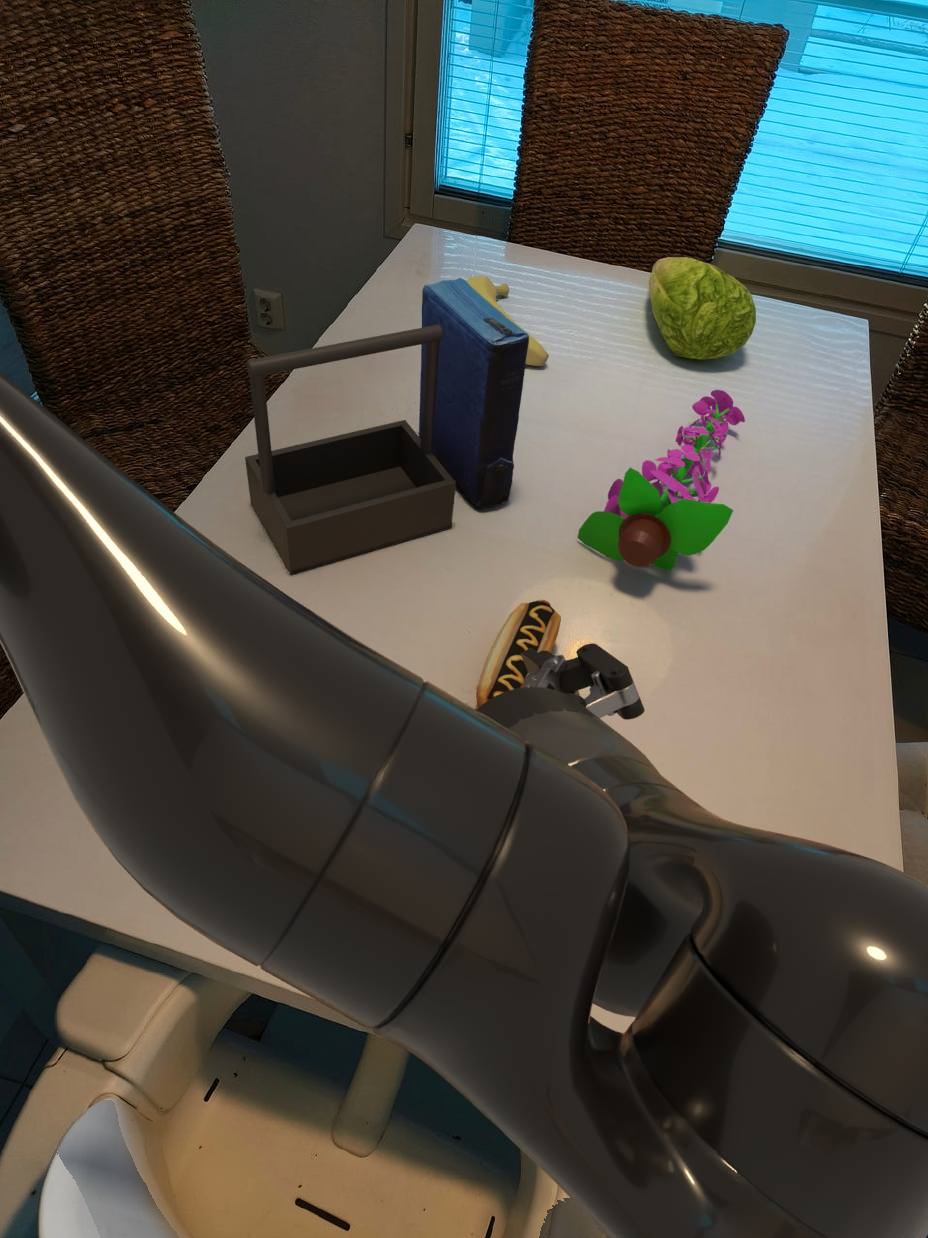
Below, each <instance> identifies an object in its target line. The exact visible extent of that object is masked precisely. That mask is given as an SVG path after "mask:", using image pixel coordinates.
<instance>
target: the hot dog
mask: <svg viewBox="0 0 928 1238" xmlns="http://www.w3.org/2000/svg"><path fill="white" fill-rule="evenodd" d="M561 622H562V616H561V614H559V613H558V612H557V611H556V610H555V609H554V608H553V607H552V606H551V603H550V602H549V601H547V600H546V599H537V600H534V601H531V602H522V603H519V604H518V605H517V606H516V608H514V610H512V612H511V613H509V615H508V617H507V619H506V620H505V621H504V623H503V625H502V627H501V629H500V630H499V631H498V633H497V634H496V637H495V639H494V642H493V644H492V646H491V648H490V650H489V652H488V654H487V656H486V658H485V661H484V664H483V667H482V670H481V673H480V677H479V678H478V679H479V680H478V683H477V686H476V690H475V691H476V692H475V696H476V697H475V698H476V706H477V708H479V707H480V706H481V705H482V704H484V703H485V702H486V701H488V700H489V699H491V698H493V697H495V696H497V695H499V694H501V693H503V692H506V691H509V690H513V689H517V688H520V687H521V685H522V684H523V682H524V681H525V679H526V677H527V676H528V674H529V673H528V670H527V668H526V666H525V663H524V661H523V659H522V656H521V653H522V652H524V651H526V650H528V649H530V648H532V649H534V650H535V651H537V652H540V651H542V650H543V651H549V652H550V653H552V654H553V650H554V647H555V644H556V641H557V638H558V635H559V631H560V625H561Z"/></svg>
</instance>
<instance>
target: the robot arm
mask: <svg viewBox="0 0 928 1238" xmlns="http://www.w3.org/2000/svg"><path fill="white" fill-rule="evenodd" d="M0 645H1V647H2V649H3V651H4V653H5V655H6V657H7V659H8V661H9V664H10V666H11V668H12V670H13V672H14V674H15V676H16V679H17V680H18V681H17V682H18V683H19V685H20V687H21V690H22V692H23V694H24V697H25V699H26V701H27V703H28V706H29V708H30V710H31V713H32V715H33V717H34V719H35V721H36V724H37V725H38V728H39V731H40V733H41V735H42V737H43V739H44V741H45V743H46V745H47V747H48V749H49V752H50V753H51V755H52V757H53V759H54V761H55V763H56V765H57V766H58V769H59V771H60V773H61V774H62V776H63V779H64V781H65V783H66V784H67V786H68V789H69V790H70V792H71V794H72V796H73V798H74V801H75V802H76V804H77V805H78V807H79V808H80V810H81V812H82V813H83V815H84V816H85V819H86V820H87V821H88V823H89V825H90V826H91V828H92V829H93V831H94V832H95V834H96V835H97V836H98V837H99V839H100V840H101V842H102V843H103V844H104V846H105V847H106V848H107V850H108V851H109V853H110V854H111V855H112V856H113V857H114V859H115V860H116V862H117V863H118V864H119V865H120V866H121V867H122V868H123V869H124V870H125V871H126V873H128V874H129V876H131V878H132V879H133V880H134V881H135V882H136V883H137V884H138V886H140V888H141V889H142V890H144V891H145V892H146V894H148V895H149V896H150V897H152V898H153V899H154V900H155V901H156V902H157V903H158V904H159V905H161V906H162V907H163V908H164V909H166V910H167V911H168V912H169V913H170V914H172V916H174V917H175V918H176V919H178V920H179V921H181V922H182V923H183V924H185V925H186V926H188V927H189V928H191V929H193V930H194V931H196V932H197V933H199V934H200V935H201V936H203V937H205V938H206V939H208V940H209V941H211V942H212V943H214V944H215V945H217V946H219V947H221V948H223V949H224V950H226V951H228V952H230V953H231V954H233V955H235V956H237V957H239V958H240V959H243V960H244V961H245V962H248V963H250V964H251V965H253V966H255V967H258V966H260V967H259V968H260V969H261V971H264V972H266V973H267V974H269V975H271V976H273V977H274V978H276V979H278V980H280V981H282V982H284V983H285V984H287V985H288V986H290V987H292V988H294V989H296V990H298V991H299V992H301V993H303V994H305V995H306V996H308V997H309V998H312V999H314V1000H315V1001H317V1002H319V1003H321V1004H322V1005H324V1006H326V1007H328V1008H330V1009H332V1010H333V1011H335V1012H336V1013H338V1014H340V1015H342V1016H344V1017H345V1018H347V1019H350V1020H351V1021H353V1022H355V1023H356V1024H358V1025H360V1026H362V1027H363V1028H366V1029H371V1030H372V1032H373V1033H375V1034H376V1035H377V1036H379V1037H382V1038H383V1039H385V1040H386V1041H389V1042H390V1043H392V1044H394V1045H396V1046H398V1047H400V1048H401V1049H403V1050H405V1051H407V1052H409V1053H410V1054H412V1055H413V1056H415V1057H416V1058H418V1060H421V1061H422V1062H423V1063H424V1064H425V1065H427V1066H428V1067H429V1068H431V1069H432V1070H434V1072H436V1073H437V1074H438V1075H439V1076H440V1077H442V1078H443V1079H444V1080H445V1081H446V1082H447V1083H449V1084H450V1085H451V1086H452V1087H453V1088H454V1089H455V1090H456V1091H458V1092H459V1093H460V1094H461V1095H462V1096H463V1097H464V1098H465V1099H466V1100H467V1101H468V1102H469V1103H470V1104H472V1105H473V1106H474V1107H475V1108H476V1109H477V1110H479V1112H480V1113H481V1114H482V1115H484V1116H485V1118H487V1119H488V1120H489V1121H490V1122H492V1123H493V1124H494V1125H495V1126H496V1127H497V1128H498V1129H499V1130H500V1131H501V1132H503V1134H504V1135H505V1136H506V1137H507V1138H508V1139H509V1140H511V1141H512V1143H514V1144H515V1145H516V1146H517V1147H518V1148H519V1149H520V1150H521V1151H522V1152H523V1154H525V1155H527V1157H528V1158H529V1159H531V1160H532V1162H534V1163H535V1164H536V1165H537V1166H538V1168H540V1169H541V1170H542V1171H543V1172H544V1173H545V1174H546V1175H547V1176H548V1177H549V1178H550V1179H551V1180H552V1181H553V1182H554V1183H555V1184H556V1185H557V1187H559V1188H560V1189H561V1190H562V1191H563V1192H564V1193H565V1194H566V1195H567V1196H568V1197H569V1198H570V1199H571V1200H572V1201H573V1202H574V1203H575V1204H576V1206H578V1207H579V1208H580V1210H581V1211H582V1212H583V1213H584V1214H585V1215H586V1216H587V1217H588V1218H589V1219H590V1220H591V1221H592V1223H593V1224H594V1225H595V1226H596V1227H597V1228H598V1229H599V1230H600V1231H601V1232H602V1233H603V1234H604V1235H605V1236H606V1238H926V1237H928V884H926V883H925V882H923V881H921V880H920V879H918V878H916V877H914V876H913V875H911V874H908V873H906V872H904V871H902V870H899V869H898V868H895V867H893V866H891V865H888V864H887V863H884V862H882V861H879V860H876V859H874V858H871V857H867V856H865V855H861V854H858V853H856V852H852V851H849V850H846V849H843V848H840V847H836V846H833V845H830V844H827V843H823V842H819V841H815V840H810V839H807V838H803V837H798V836H794V835H789V834H785V833H780V832H775V831H771V830H766V829H761V828H756V827H751V826H747V825H743V824H739V823H735V822H733V821H730V820H726V819H724V818H722V817H721V816H718V815H717V814H716V813H713V812H712V811H710V810H708V809H707V808H705V807H703V806H702V805H700V804H699V803H698V802H696V801H695V800H694V799H692V798H691V797H690V796H689V795H687V794H686V793H685V792H684V791H682V790H681V789H680V788H678V787H677V786H676V785H675V784H673V782H671V781H670V780H669V779H667V778H665V776H663V775H662V774H661V773H660V772H659V770H658V769H657V768H656V766H655V765H654V763H652V762H651V760H650V759H649V758H648V757H647V755H646V754H645V753H644V752H642V751H641V750H640V749H639V748H638V747H636V745H634V744H633V743H632V742H631V741H630V740H628V738H626V737H624V736H623V735H622V734H621V733H619V732H618V731H617V730H615V729H614V728H612V727H611V726H610V725H609V724H607V722H605V721H604V720H602V718H603V717H605V716H608V717H612V716H615V715H616V714H617V715H618V716H619V717H620V718H621V719H623V720H625V721H628V720H633V719H636V718H638V717H640V716H641V715H643V714H644V713H645V707H644V704H643V701H642V699H641V697H640V694H639V692H638V689H637V687H636V684H635V681H634V679H633V677H632V674H631V671H630V669H629V667H628V666H627V665H626V664H625V663H624V662H622V661H620V660H619V659H617V658H616V657H615V656H614V655H612V654H611V653H609V652H608V651H607V650H606V649H604V648H603V647H601V646H600V645H598V644H597V643H593V642H592V643H587V644H584V645H582V646H580V647H579V648H578V649H577V650H576V652H575V653H576V655H577V657H574V658H570V659H566V658H565V656H564V655H563V654H559V655H555V654H553V652H552V653H550V652H549V651H543V650H542V651H540V652H537V651H535V650H534V649H532V648H530V649H528V650H526V651H524V652H522V653H521V656H522V659H523V661H524V663H525V666H526V668H527V670H528V673H529V674H528V676H527V677H526V679H525V681H524V682H523V684H522V685H521V687H520V688H517V689H513V690H509V691H506V692H503V693H501V694H499V695H497V696H495V697H493V698H491V699H489V700H488V701H486V702H485V703H484V704H482V705H481V706H480V707H479V708H478V707H477V708H474V707H473V706H470V705H469V704H467V703H465V702H464V701H462V700H460V699H459V698H457V697H455V696H454V695H452V694H450V693H448V692H447V691H445V690H444V689H441V688H440V687H438V686H437V685H436V684H434V683H432V682H431V681H425V680H424V679H423V678H422V677H421V676H419V675H418V674H416V673H414V672H413V671H411V670H409V668H406V667H404V666H402V665H401V664H399V663H398V662H395V660H392V659H390V658H389V657H387V656H386V655H384V654H382V653H381V652H378V651H377V650H375V649H373V648H372V647H370V646H368V645H367V644H365V643H364V642H362V641H360V640H358V639H356V638H355V637H354V636H351V635H350V634H348V633H347V632H345V631H344V630H342V629H341V628H339V627H338V626H336V625H335V624H333V623H331V622H330V621H328V620H326V619H325V618H323V617H322V616H320V615H319V614H318V613H316V612H315V611H312V610H311V609H309V608H308V607H307V606H305V605H303V604H301V603H300V602H299V601H297V600H295V599H294V598H292V597H291V596H290V595H288V594H287V593H285V592H283V591H282V590H281V589H279V588H278V587H276V586H275V585H273V584H272V583H270V582H269V581H268V580H267V579H265V578H263V576H261V575H259V574H258V573H256V572H255V571H253V570H252V569H250V567H248V566H246V565H245V564H244V563H242V562H241V561H239V560H237V559H236V558H235V557H233V556H232V555H231V554H230V553H229V552H227V551H226V550H224V549H223V548H222V547H221V546H219V545H217V544H216V543H215V542H213V540H211V539H209V537H207V536H206V535H204V534H202V533H201V532H200V531H199V530H197V529H196V528H195V527H193V526H192V525H191V524H189V523H188V521H186V520H184V519H183V518H182V517H180V515H178V514H177V513H176V512H175V511H174V510H172V509H171V508H170V507H169V506H167V505H166V504H165V503H163V502H162V501H161V500H160V499H159V498H157V497H156V496H155V495H154V494H152V493H151V492H150V491H148V490H147V489H146V488H145V487H144V486H142V485H141V484H140V483H139V482H137V480H135V479H134V478H133V477H131V475H129V474H128V473H126V472H125V471H124V470H123V469H121V467H119V466H118V465H116V464H115V463H114V462H113V461H111V460H110V459H109V458H108V457H107V456H105V455H104V454H103V453H102V452H100V451H99V450H98V449H96V448H95V447H94V446H93V445H91V444H90V443H89V442H88V441H87V440H85V439H84V438H83V437H81V436H80V435H79V434H78V433H77V432H76V431H74V430H73V429H72V428H70V427H69V426H68V425H67V424H66V423H65V422H63V421H62V420H61V419H59V418H58V417H57V416H56V415H55V414H53V413H52V412H51V411H50V410H48V409H47V408H46V407H45V406H44V405H42V404H41V403H40V402H39V401H37V400H36V399H35V398H33V397H32V396H31V395H30V394H28V393H27V392H26V391H25V390H23V389H22V388H21V387H19V386H18V385H17V384H15V383H14V382H13V381H12V380H10V379H9V378H8V377H7V376H5V375H4V374H3V373H1V372H0ZM586 688H589V694H588V695H587V696H586V697H584V698H583V697H582V696H581V694H580V690H583V689H586ZM593 1005H595V1006H597V1007H599V1008H601V1009H603V1010H604V1011H606V1012H609V1013H612V1014H615V1015H619V1016H623V1017H630V1018H634V1019H633V1021H632V1022H631V1023H630V1025H629V1026H628V1027H627V1029H626V1030H625V1031H624V1032H620V1031H618V1030H615V1029H612V1028H610V1027H608V1026H606V1025H604V1024H602V1023H601V1022H600V1021H598V1020H597V1019H596V1018H594V1017H593V1016H592V1009H593Z"/></svg>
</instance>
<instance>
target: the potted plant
mask: <svg viewBox="0 0 928 1238" xmlns="http://www.w3.org/2000/svg"><path fill="white" fill-rule="evenodd" d="M733 405H734V399H733V398H732V396H731V395H729V394H728V393H727V392H726V391H724V390H723V389H722V390H721V389H714V390H712V391H710V396H707V395H706V396H703V397H701V398H700V400H697V401H695V402H694V403H693V404H692V405H691V408H692V410H693V411H694V412H695V413H696V414H697V415H698V416H700V418H697V419H696V420H694V422H693V423H691V424H690V425H689V426H685V427H684V426H683V425H681V426H679V428H678V429H677V433H676V434H677V435H676V436H675V437H676V438H675V443H677V445H678V446H679V447H680V449H679V448H674V449H672V450H671V449H669V448H668V449H667V451H666V453H667V454H666V456H667V457H666V456H661V457H658V458H656V459H655V461H657V462H660V463H658V465H656V463H655V462H654V461H653V460H649V459H648V460H644V461H643V462H642V465H641V472H640V471H638V470H636V469H634V468H632V467H629V468H628V469H627V470H626V472H625V473H624V477H623V479H621V478H616V479H615V480H614V481H613V483H612V484H611V486H610V488H609V491H608V492H607V499H608V500H607V502H606V504H605V507H604V510H599V511H594V512H592V513H591V514H590V515H589V516H588V517H587V519H586V520H585V521H584V523H582V525H581V527H580V528H579V529H578V533H577V539H578V540H579V541H580V542H581V543H583V544H584V545H585V546H587V547H589V548H591V549H592V550H594V551H596V552H598V553H599V554H601V555H603V556H605V557H606V558H608V559H611V560H615V561H619V562H623V561H624V562H625V563H626V564H628V565H630V566H632V567H648V566H651V565H652V566H654V567H656V568H658V569H661V570H665V571H672V570H673V569H675V567H676V562H677V558H678V556H679V555H681V556H684V557H689V556H693V555H696V554H699V553H701V552H703V551H705V550H707V548H708V547H709V546H710V545H711V544H712V543H713V542H714V541H715V539H716V538H717V537H718V536H719V535H720V534H721V533H722V531H723V530H724V529H725V527H726V526H727V525H728V524H729V522H730V519H731V516H732V514H733V512H734V509H732V508H731V507H729V506H728V505H726V504H724V503H715V502H714V501H715V500H716V497H718V496H717V495H719V491H720V487H719V486H714V487H712V483H711V481H710V480H709V474H710V472H711V468H712V463H711V461H712V459H713V453H712V449H717V450H718V451H717V453H718V461H720V460H721V457H722V445H723V443H724V442H725V441H726V438H727V436H724V435H726V434H727V433H728V432H729V428H730V427H729V424H730V425H731V426H737V425H738V424H740V423H745V422H746V419H745V416H744V413H743V411H742V410H741V409H740V407H737V406H733ZM698 422H700V425H701V426H702V427H701V426H699V425H698V424H697V423H698ZM707 422H708V424H707ZM693 426H694V427H693ZM717 437H718V438H717ZM709 438H711V439H709ZM712 441H713V442H714V443H715V446H714V445H713V446H708V445H709V443H710V442H712ZM682 444H683V445H682ZM699 453H700V455H699ZM700 456H701V457H700ZM682 457H683V458H682ZM701 460H703V462H705V467H704V465H703V464H702V463H701ZM699 474H700V475H699ZM687 475H692V476H691V478H687V479H684V478H685V477H686V476H687ZM654 480H656V481H654ZM652 481H654V482H652ZM651 482H652V483H651ZM690 482H693V483H692V484H693V485H694V488H695V489H693V488H688V487H687V486H684V485H683V484H686V483H690ZM662 484H663V485H665V486H666V488H665V489H664V487H663V485H662ZM696 498H697V499H696ZM713 502H714V503H713Z"/></svg>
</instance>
